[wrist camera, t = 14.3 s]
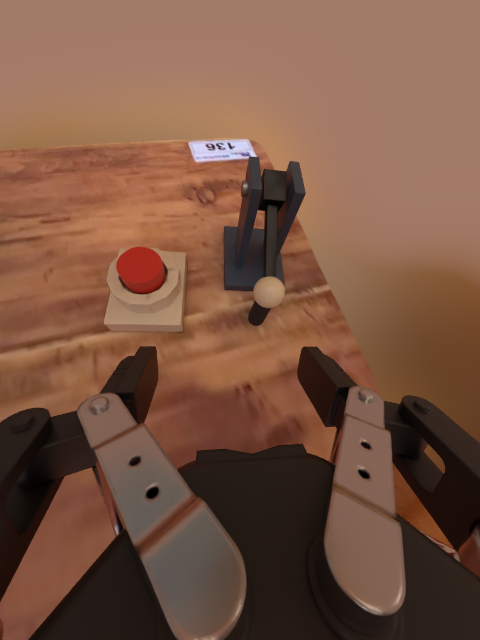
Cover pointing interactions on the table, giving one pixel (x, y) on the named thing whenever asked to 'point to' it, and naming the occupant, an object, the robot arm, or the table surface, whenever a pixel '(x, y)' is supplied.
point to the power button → (141, 269)
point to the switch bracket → (249, 242)
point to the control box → (149, 299)
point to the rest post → (258, 314)
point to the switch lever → (271, 238)
